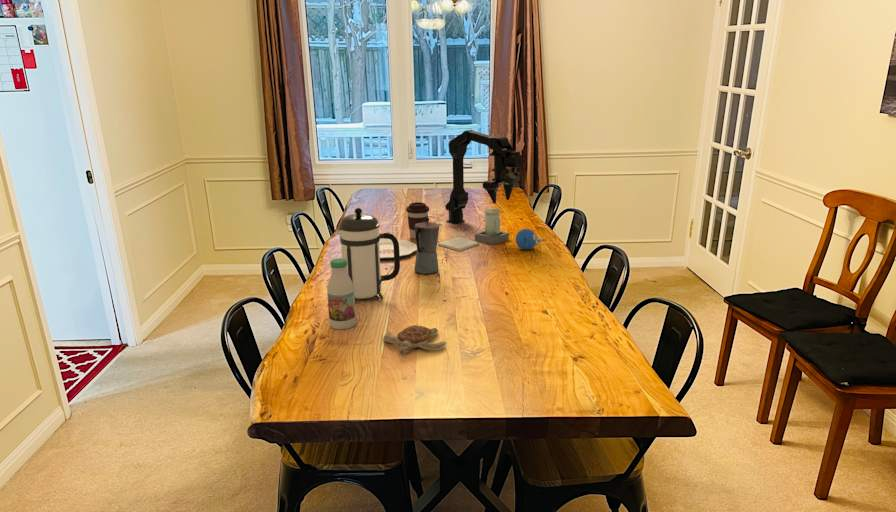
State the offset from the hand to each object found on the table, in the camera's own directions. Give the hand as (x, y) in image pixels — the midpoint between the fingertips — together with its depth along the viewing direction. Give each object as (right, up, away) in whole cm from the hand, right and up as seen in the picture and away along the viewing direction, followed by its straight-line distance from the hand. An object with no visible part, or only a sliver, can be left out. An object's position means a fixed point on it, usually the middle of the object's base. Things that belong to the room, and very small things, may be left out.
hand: (501, 201), depth 257 cm
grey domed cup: (-4, -17, -7) cm, 19 cm away
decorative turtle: (-33, -48, -97) cm, 113 cm away
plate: (-49, -23, -20) cm, 57 cm away
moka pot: (-31, -30, -43) cm, 61 cm away
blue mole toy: (+10, -21, -19) cm, 30 cm away
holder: (-5, -17, -6) cm, 19 cm away
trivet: (-19, -19, -12) cm, 30 cm away
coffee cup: (-37, -16, -1) cm, 40 cm away
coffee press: (-50, -37, -65) cm, 90 cm away
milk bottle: (-54, -44, -86) cm, 111 cm away
